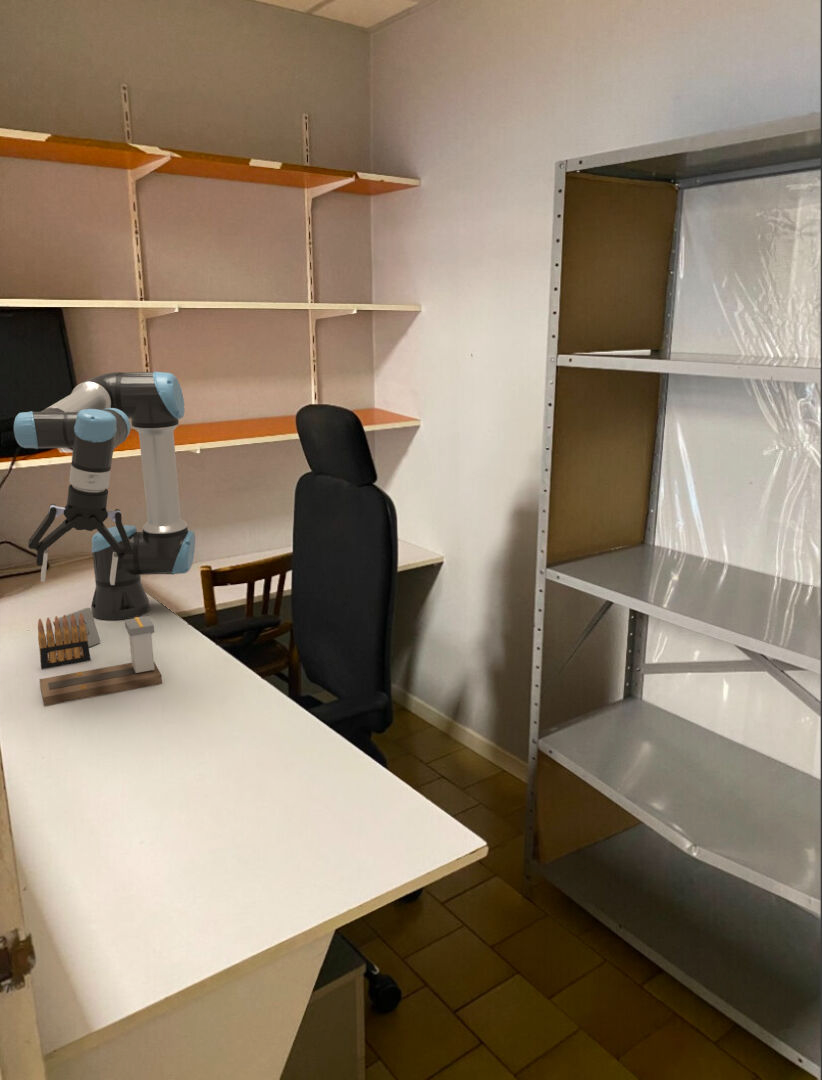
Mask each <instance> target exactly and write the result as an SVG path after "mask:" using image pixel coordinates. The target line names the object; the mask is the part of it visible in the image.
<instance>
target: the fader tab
mask: <svg viewBox="0 0 822 1080" xmlns="http://www.w3.org/2000/svg"><path fill="white" fill-rule="evenodd" d="M123 620H124V628H125V629H126V632H127V633H128V638H129V646H130V650H129V651H130V660H131V663H132V666H133V668H134V670H135V672H136V673H139V672H144V671H150V670H154V662H155V659H154V649H153V647H154V646H153V637H152V634H153V633H155V624H154V623H153V621H152V620H151V618H150V616H141V617H139V616H136V617H133V618H128V619H123Z"/></svg>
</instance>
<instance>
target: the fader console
mask: <svg viewBox="0 0 822 1080" xmlns="http://www.w3.org/2000/svg"><path fill="white" fill-rule="evenodd" d="M161 684H163V677H162V673H161V671H160V669H159V667H158V666H157V664H156V662H155V661H154V670H150V671H144V672H139V673H136V672H135V670H134V668H133V666H132V662H128V663H122V664H117V665H111V666H106V667H100V668H95V669H89V670H83V671H77V672H72V673H65V674H61V675H55V676H50V677H49V676H48V677H44V678H39V687H40V693H41V697H42V702H43V706H44V707H46V706H50V705H51V706H52V705H56V704H62V703H67V702H72V701H78V700H83V699H89V698H92V697H93V698H94V697H98V696H104V695H108V694H115V693H119V692H125V691H130V690H134V689H135V690H136V689H140V688H144V687H145V688H146V687H151V686H155V685H161Z"/></svg>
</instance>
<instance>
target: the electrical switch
mask: <svg viewBox="0 0 822 1080" xmlns="http://www.w3.org/2000/svg"><path fill="white" fill-rule="evenodd" d="M80 612H81V613H82V614H83V617H84V621H85V627H86V630H87V639H88V647H89V648H92V647H93V646H95V645H98V644H100V641H101V639H100V638H101V637H100V636H99V632H98V629H97V625H96V621H95V619H94V618H95V617H94V616H93V615H92V611H91V607H85V608H82V609H79V610H76V611H73V612H71V613H68V614H64V615H65V616H66V618H67V621H68V626H69V630H70V635H71V615H72V614H74V616H75V619H76V624H77V628H78V633H79V615H80ZM58 619H59V623H60V628H61V632H62V637H63V616H61V617H58ZM52 625H53V627H54V628H55V626H54V621H53V624H52ZM79 640H80V635H79ZM71 641H72V638H71ZM80 650H81V647H80ZM72 652H73V648H72ZM64 653H65V651H64Z"/></svg>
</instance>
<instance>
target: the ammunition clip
mask: <svg viewBox="0 0 822 1080" xmlns="http://www.w3.org/2000/svg"><path fill="white" fill-rule="evenodd" d="M65 615H66V614H63V616H62V617H63V637H62V632H61V628H60V623H59V619H58V618H59V617H58V616H57V615H56V616H55V618H54V621H53V622H54V624H52V622H51V619H50V617H47V618H46V623H45V625H46V626H45V628H44V624H43V621H42V619H41V618H39V619H38V621H37V632H38V633H37V635H38V636H37V640H38V649H39V658H40V659H39V660H40V668H41V670H46V669H52V668H56V667H61V666H63V667H64V666H67V665H73V664H78V663H83V662H90V661H91V660H92V659H91V653H90V647H88V639H87V630H86V627H85V621H84V617H83V614H82V613H81V612H80V615H79V633H78V628H77V624H76V619H75V616H74V614H72V615H71V635H70V630H69V626H68V621H67V618H66V616H65ZM54 626H55V627H54ZM53 627H54V630H53ZM45 629H46V630H45ZM45 631H46V634H45ZM79 635H80V640H79ZM71 638H72V641H71ZM80 647H81V650H80ZM72 648H73V652H72ZM64 651H65V652H64Z"/></svg>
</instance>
